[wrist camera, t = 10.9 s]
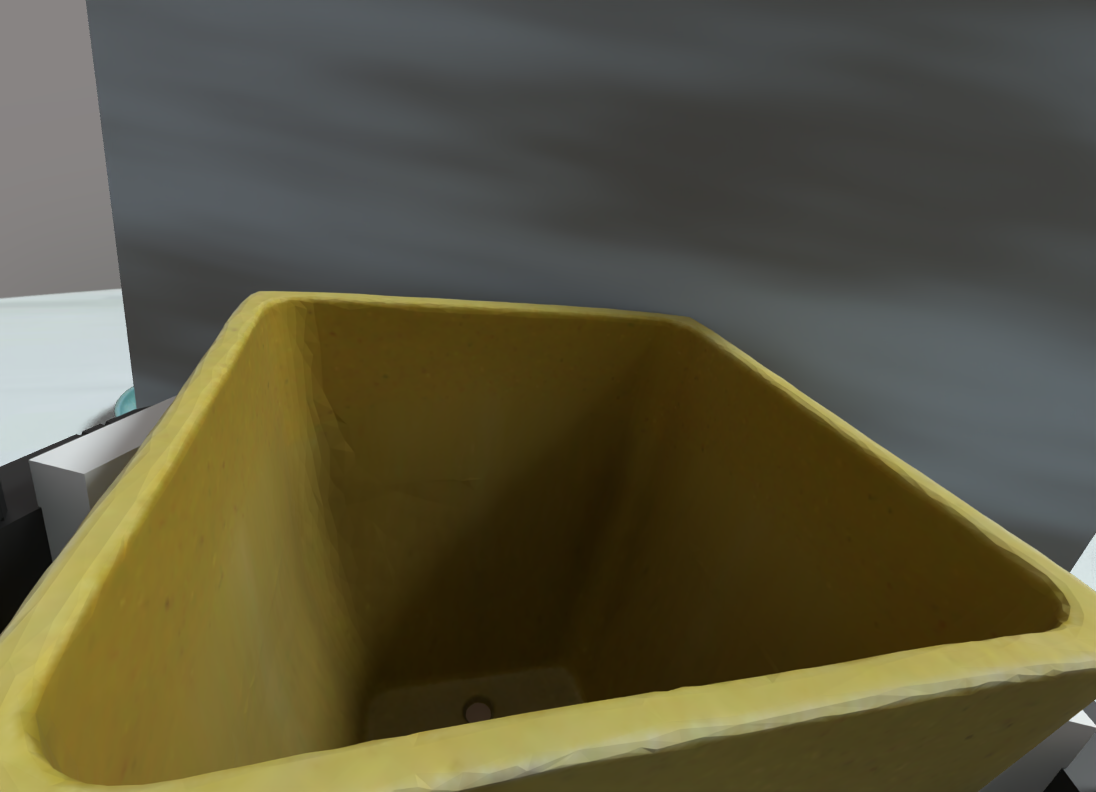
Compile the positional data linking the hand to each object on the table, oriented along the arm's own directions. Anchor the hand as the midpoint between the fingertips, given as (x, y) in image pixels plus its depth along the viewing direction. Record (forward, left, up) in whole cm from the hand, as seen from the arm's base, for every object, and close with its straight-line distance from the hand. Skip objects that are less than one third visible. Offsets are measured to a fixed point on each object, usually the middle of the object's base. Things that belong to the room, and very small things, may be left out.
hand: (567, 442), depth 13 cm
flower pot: (-2, +4, -6) cm, 7 cm away
